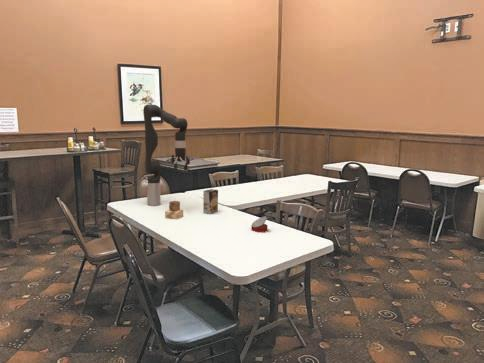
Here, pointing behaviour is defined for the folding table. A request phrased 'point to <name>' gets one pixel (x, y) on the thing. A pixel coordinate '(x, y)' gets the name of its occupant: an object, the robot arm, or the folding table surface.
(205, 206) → the coffee box
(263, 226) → the canned food
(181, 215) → the oak block
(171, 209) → the walnut block
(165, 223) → the folding table surface
